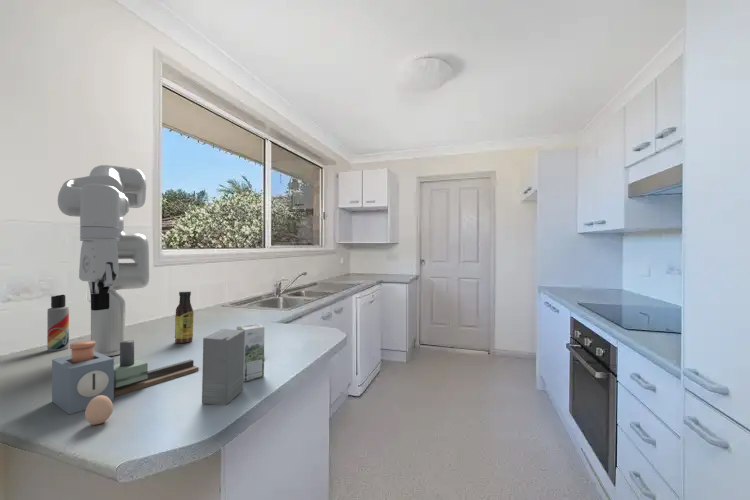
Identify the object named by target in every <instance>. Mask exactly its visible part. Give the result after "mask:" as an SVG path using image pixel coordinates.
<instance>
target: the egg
mask: <svg viewBox="0 0 750 500" xmlns="http://www.w3.org/2000/svg"><path fill="white" fill-rule="evenodd" d="M113 404H114V403H113V401H111V400H110V399H109V398H108V397H106V396H104V395H99V396H97V397H95V398H93V399H92V400H91V401H90V402H89V404H88V406H87V408H86V410H84V411H85V412H84V417H85V419H86V421H87V422H88V423H90V424H91V425H100V424H103V423H104V422H106V421H107V420H108V419H109V418H110V417H111V415H112V414H113V410H114V405H113Z"/></svg>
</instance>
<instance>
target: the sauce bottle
mask: <svg viewBox="0 0 750 500" xmlns="http://www.w3.org/2000/svg"><path fill="white" fill-rule="evenodd" d="M178 296H179V301H178V303H179V304H178V305H177V307H176V308H175V316H174V317H175V318H174V321H175V323H174V342H175V344H185V343H190V342H192V341H193V337H194V309H193V305H192V303H191V296H192V291H190V290H185V291H184V290H183V291H179V293H178Z"/></svg>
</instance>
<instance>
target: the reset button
mask: <svg viewBox="0 0 750 500" xmlns="http://www.w3.org/2000/svg"><path fill="white" fill-rule="evenodd" d="M95 345H96V341H91V340H81V341H76V342H73V343H70V344H69V349H70V350H71V355H72V364H75V363H80V362H84V361H89V360H93V359H94V346H95Z"/></svg>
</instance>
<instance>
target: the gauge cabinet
mask: <svg viewBox="0 0 750 500" xmlns="http://www.w3.org/2000/svg"><path fill="white" fill-rule="evenodd" d="M114 363H115V360H114V358H113V357H112V356H109V357H108V356H106V355H103V354H101V353H98V352H96V351H94V359H93V360H89V361H84V362H80V363H75V364H72V354H71V355H68V356H63V357H56V358H52V359H51V402H52V403H53V404H55V405H56V406H57V407H59V408H60V409H61V410H63V411H64V412H65V413H67V414H68V415H73V414H76V413H80V412H82V411H86V408H87V406H88V404H89V402H90V401H91V400H92V399H93V398H95V397H97V396H99V395H104V396H106V397H108V398H109V399H110V400H111V402H114V401H115V398H114V365H115V364H114Z"/></svg>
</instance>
